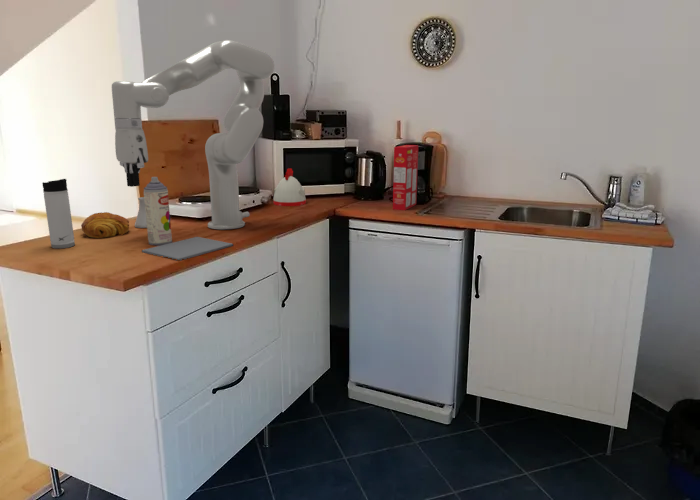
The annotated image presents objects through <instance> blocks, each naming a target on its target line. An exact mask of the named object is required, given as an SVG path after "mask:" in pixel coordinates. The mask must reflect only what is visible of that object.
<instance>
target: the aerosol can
mask: <svg viewBox="0 0 700 500" xmlns="http://www.w3.org/2000/svg"><path fill="white" fill-rule="evenodd" d="M143 197H144V201H145V211H146V222H147V228H146V230H147V231H146V233H147V240H148V241H147V242H148V245H150V246H161V245H165V244H169V243H173V237H172V235H173V234H172V223H171V212H170V201H169V199H170V198H169V190H168V186H165V184H164V183H163V182H161V181H160V180H159V179H158V176H151V180H150V182H148V183H147V184H146V186H145V187H143Z"/></svg>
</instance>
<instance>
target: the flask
mask: <svg viewBox="0 0 700 500" xmlns="http://www.w3.org/2000/svg"><path fill="white" fill-rule="evenodd" d="M137 199H138V201H139V202H138V203H139V205H138V211H137V214H136V215H137V216H136V218H135V223H134V227H135V228H141V229H143V228H145V229H147V222H146V211H145V201H144V196H143V197H138V198H137Z"/></svg>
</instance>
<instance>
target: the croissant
mask: <svg viewBox="0 0 700 500" xmlns="http://www.w3.org/2000/svg"><path fill="white" fill-rule="evenodd" d="M129 230H130V221H129V220H128V219H127V218H126V217H124V216H121V215H119V214H114V213H111V212H107V211H106V212H105V211H104V212H96V213H92V214H90V215H88V217H86V218H85V219H84V220H83V222H82V223H81V231H82V233H84V234H85V235H86V236H87V238H88V237H89V238H92V239H94V238H95V239H105V238H110V237H116V236H117V237H118V236H123V235H125V234H127V233H128V231H129Z"/></svg>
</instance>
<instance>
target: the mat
mask: <svg viewBox="0 0 700 500" xmlns="http://www.w3.org/2000/svg"><path fill="white" fill-rule="evenodd" d="M230 247H231V248H232V247H234V244H233V243H232V242H225V241H221V240H217V239H211V238H205V237H202V236H201V237H200V236H194V237H191V238H186V239H183V240H179V241H172V243H169V244H165V245H156V246H154V247H149V248H145V249H142V250H141V252H142V253H144V254H148V255H152V254H153V256H156V255H157V257H160V256H163V257H162V258H164V257H168V258H172V259H171V260H173V259H177V260H180V261H183V260H182V259H184V260H188V259H191V258H194V257H197V256H201V255H205V254H209V253H213V252H217V251H219V250H223V249H227V248H230ZM168 258H167V259H168ZM187 258H188V259H187ZM177 260H176V261H177Z"/></svg>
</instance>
